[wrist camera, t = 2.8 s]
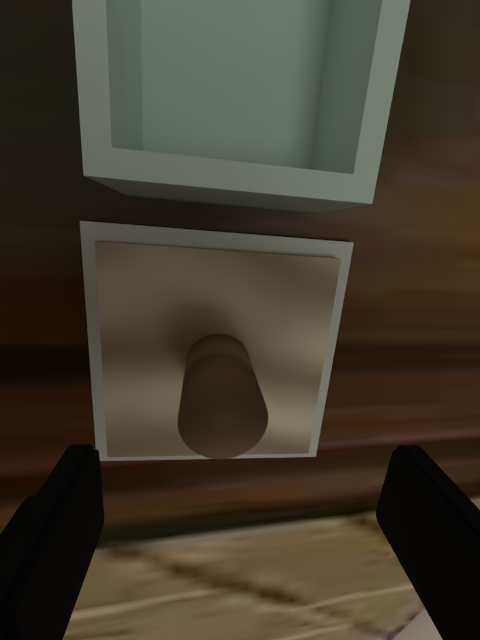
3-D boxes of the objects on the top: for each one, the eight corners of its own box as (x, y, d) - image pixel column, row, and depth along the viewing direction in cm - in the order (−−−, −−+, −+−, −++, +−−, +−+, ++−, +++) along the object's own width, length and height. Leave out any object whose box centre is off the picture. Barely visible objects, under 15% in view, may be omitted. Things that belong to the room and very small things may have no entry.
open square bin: (315, 213, 18) (371, 204, 12) (128, 196, 17) (83, 175, 10) (346, -16, 15) (445, -187, 9) (121, -60, 14) (52, -303, 7)
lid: (305, 445, 22) (345, 533, 16) (111, 448, 21) (67, 548, 14) (335, 257, 18) (406, 272, 12) (99, 240, 17) (33, 247, 10)
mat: (313, 451, 23) (315, 456, 23) (99, 454, 21) (96, 461, 21) (349, 242, 19) (353, 242, 18) (83, 221, 17) (79, 220, 16)
